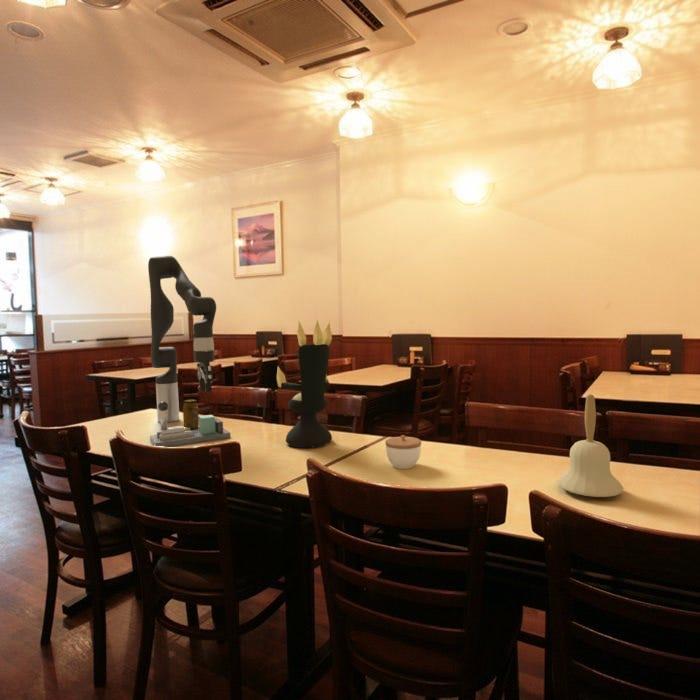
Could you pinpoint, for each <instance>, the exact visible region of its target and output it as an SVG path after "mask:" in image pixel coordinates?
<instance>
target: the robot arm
mask: <svg viewBox="0 0 700 700" xmlns="http://www.w3.org/2000/svg"><path fill="white" fill-rule="evenodd" d="M147 263H148V266H147V267H148V269H147V271H148V280H149V288H150V324H151V326H150V327H151V346H150V364H151V366H152V367H153V368H155V369H162V368H163V369H165V368H167V369H168V368H169V369H168V370H167V371H166V372H164V373H162V374H160V375H158V376H156V377H155V390H156V393H155V394H156V414H157V422H158V423H160V410H159V409H158V404H159V403H160V402H163V401H164V402H166V403H167V404H168V409H167V423H171V422H173V423H174V422H176V421H180V408H179V407H180V406H179V405H180V404H179V403H180V402H179V388H178V385H179V384H178V354H177V353H178V352H177V349H176V348H175V347H174V346H162V347H161V346H160V345H161V344H162V340H163V339H164V337H165V335H166V334H167V333H168V332H169V330H170V329H171V328H172V326H173V324H174V319H175V318H174V313H175V312H174V311H175V309H174V305H173V304H172V302H171V300H170V299H169V298H168V297H167V295H166V294H165V292H164V291H163V289H162V288H163V287H162V283H161V281H162V280H164V279H172V278H174V279H175V286H174V287H175V290H176V291H175V292H176V294H177V295H178V296H179V297H180V298H181V299H182V300H183V301H184V303H185V306H186V309H187V312H188V313H189V314H191V315H192V316H196V317H198V316H202V320H200V321H198V322H194V324H193V325H192V327H193V331H192V332H193V361H194V362H195V363H196V371H197V372H196V373H197V374H196V376H197V379H198V381H199V390H200V391H205V393H206V394H209V393H210V394H211V393H213V392H212V391H213V387H212V386H213V385H212V383H213V382H214V380H215V379H214V366H213V365H211V364H210V363H211V362H214V361H215V342H214V332H213V329H214V328H213V327H214V323H215V322H214V320H215V317H216V312H217V303H216V301H215V299H214V298H213V297H211V296H202V293H201V291H200V290H199V288H198V287H197V286H196V285H195V284H194V283H193V282H192V281H191V280H190V279H189V277H188V276H187V274H186V273H185V270H184V269H183V267H182V266H181V264H180V263H179V261H178V260H177V259H176V258H175V257H174V256H173V255H158V256H151V257H150V258H149V259H148V262H147Z"/></svg>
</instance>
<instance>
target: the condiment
mask: <svg viewBox="0 0 700 700" xmlns="http://www.w3.org/2000/svg"><path fill="white" fill-rule="evenodd" d="M182 413H183V414H182V416H183V419H182V420H183V427H184V428H186V427H187V428H190V430H198V429H199V416H200V415H199V407H198V400H197V399H185V400H183V407H182Z"/></svg>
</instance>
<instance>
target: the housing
mask: <svg viewBox="0 0 700 700" xmlns="http://www.w3.org/2000/svg"><path fill="white" fill-rule="evenodd" d="M215 419H216V416H214V415H213V414H208V415H207V414H206V415H199V432H201V433H202V434H206V433H214V432H216V431H215Z"/></svg>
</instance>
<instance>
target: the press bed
mask: <svg viewBox="0 0 700 700" xmlns="http://www.w3.org/2000/svg"><path fill="white" fill-rule="evenodd" d="M215 431H216V432H214V433H206V434H202V433H201V432H199V429H198V430H190V428H188V431H186V432H179V433H171V434H164V435H160V431H156V434H153V435H150V436H149V441H150V443H151V444H152V445H153V446H154V445H155V446H168V447H169V448H170V447H178V446H182V445H190V444H197V443H204V442H205V443H206V442H213V441H218V440H224V439H231V432H230V431H228V430H227V429H226V428H224V422H223V420H221V419H219V418H216V417H215ZM168 447H167V448H168Z"/></svg>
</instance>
